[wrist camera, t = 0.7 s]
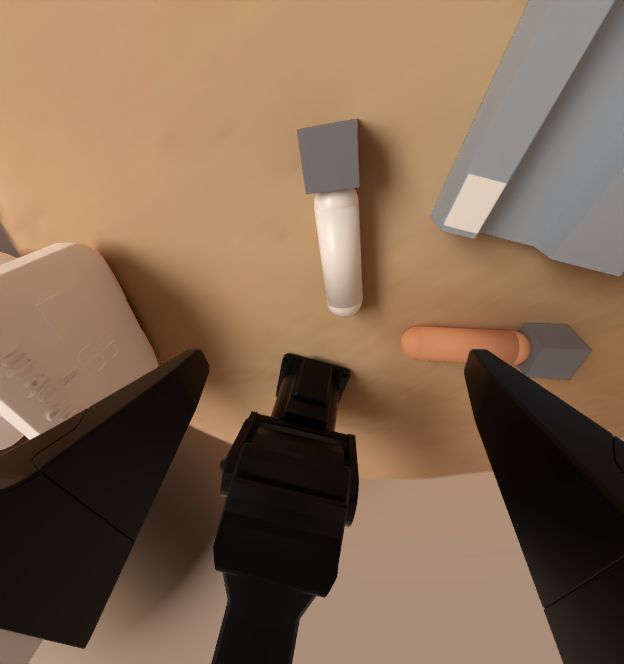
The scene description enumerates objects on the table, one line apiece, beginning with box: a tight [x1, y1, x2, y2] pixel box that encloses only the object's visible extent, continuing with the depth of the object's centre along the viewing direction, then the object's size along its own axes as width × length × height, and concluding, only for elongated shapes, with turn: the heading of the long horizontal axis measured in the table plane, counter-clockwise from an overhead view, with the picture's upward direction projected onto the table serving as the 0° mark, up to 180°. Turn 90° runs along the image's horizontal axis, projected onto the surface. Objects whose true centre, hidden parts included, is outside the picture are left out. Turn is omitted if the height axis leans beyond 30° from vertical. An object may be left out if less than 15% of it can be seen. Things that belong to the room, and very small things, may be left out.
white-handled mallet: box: [297, 119, 363, 317], centre depth 17 cm, size 12×3×3 cm, turn 8°
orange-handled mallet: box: [400, 323, 592, 380], centre depth 20 cm, size 12×3×3 cm, turn 93°
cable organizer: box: [0, 243, 159, 450], centre depth 22 cm, size 15×11×12 cm
